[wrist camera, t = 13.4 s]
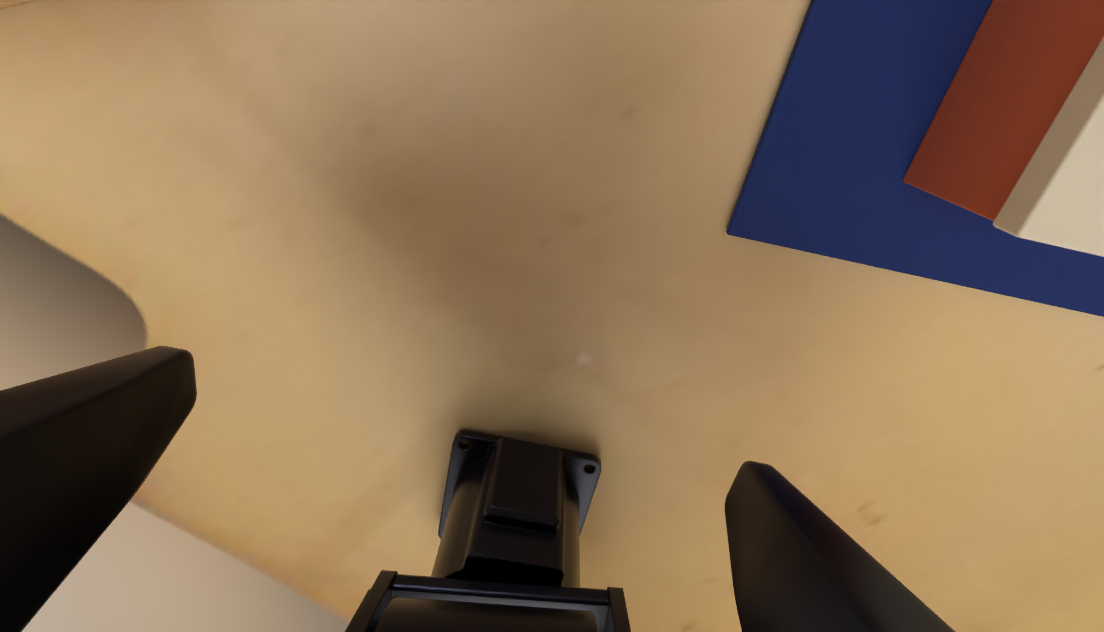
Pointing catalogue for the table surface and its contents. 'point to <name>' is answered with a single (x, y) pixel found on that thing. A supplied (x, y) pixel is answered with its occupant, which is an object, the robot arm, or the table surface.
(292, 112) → the table surface
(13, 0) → the sandwich container
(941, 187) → the box
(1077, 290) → the blue cloth
